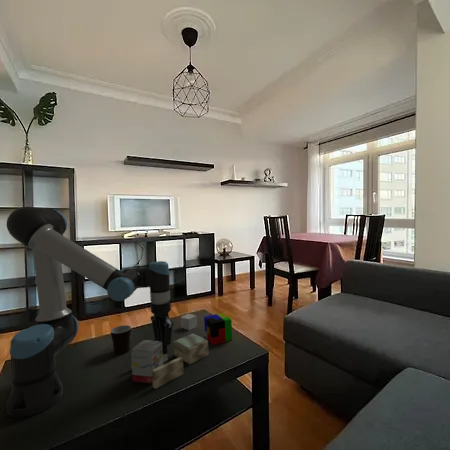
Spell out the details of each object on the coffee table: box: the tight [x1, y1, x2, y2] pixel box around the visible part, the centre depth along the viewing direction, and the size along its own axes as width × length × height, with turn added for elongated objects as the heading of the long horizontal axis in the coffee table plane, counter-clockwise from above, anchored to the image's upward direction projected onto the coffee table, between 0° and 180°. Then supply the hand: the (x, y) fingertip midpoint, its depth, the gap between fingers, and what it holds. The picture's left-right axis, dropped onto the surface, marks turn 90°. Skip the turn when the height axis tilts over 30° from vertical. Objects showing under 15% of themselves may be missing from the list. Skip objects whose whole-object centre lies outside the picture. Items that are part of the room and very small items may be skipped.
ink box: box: [131, 339, 164, 384], centre depth 100 cm, size 9×9×12 cm
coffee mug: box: [110, 324, 132, 356], centre depth 122 cm, size 12×9×10 cm
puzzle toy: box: [203, 312, 233, 346], centre depth 129 cm, size 10×10×10 cm
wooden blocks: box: [130, 333, 209, 390], centre depth 108 cm, size 28×18×6 cm, turn 134°
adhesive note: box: [180, 313, 198, 331], centre depth 144 cm, size 6×6×6 cm
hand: (163, 361), depth 105 cm, fingers closed
